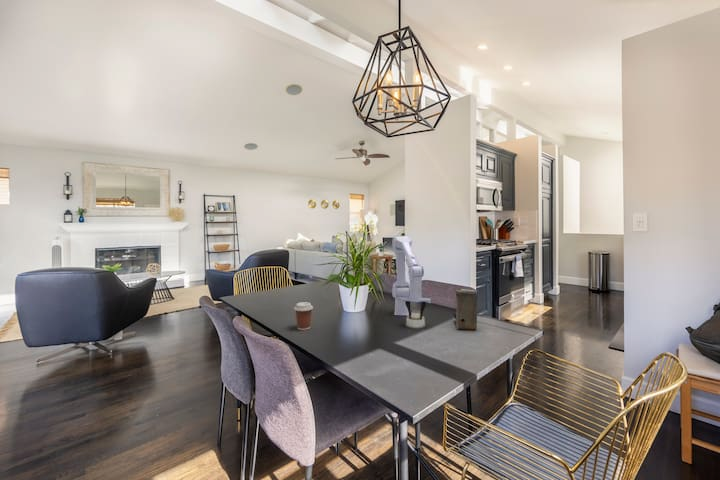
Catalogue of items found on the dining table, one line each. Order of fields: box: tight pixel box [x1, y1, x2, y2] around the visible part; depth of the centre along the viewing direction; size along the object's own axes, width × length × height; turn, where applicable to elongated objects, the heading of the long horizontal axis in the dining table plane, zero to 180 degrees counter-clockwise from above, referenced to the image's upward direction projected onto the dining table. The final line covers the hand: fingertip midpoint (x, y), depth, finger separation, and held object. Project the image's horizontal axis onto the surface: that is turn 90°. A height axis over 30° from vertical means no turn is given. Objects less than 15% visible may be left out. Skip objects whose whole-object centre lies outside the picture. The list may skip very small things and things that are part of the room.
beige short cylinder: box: [410, 309, 421, 319], centre depth 166 cm, size 5×5×4 cm
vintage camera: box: [452, 288, 478, 331], centre depth 166 cm, size 10×16×20 cm, turn 174°
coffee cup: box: [293, 301, 314, 331], centre depth 163 cm, size 9×9×12 cm
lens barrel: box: [405, 315, 427, 330], centre depth 166 cm, size 10×10×4 cm
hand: (415, 316), depth 166 cm, fingers closed on beige short cylinder, 5 cm apart
